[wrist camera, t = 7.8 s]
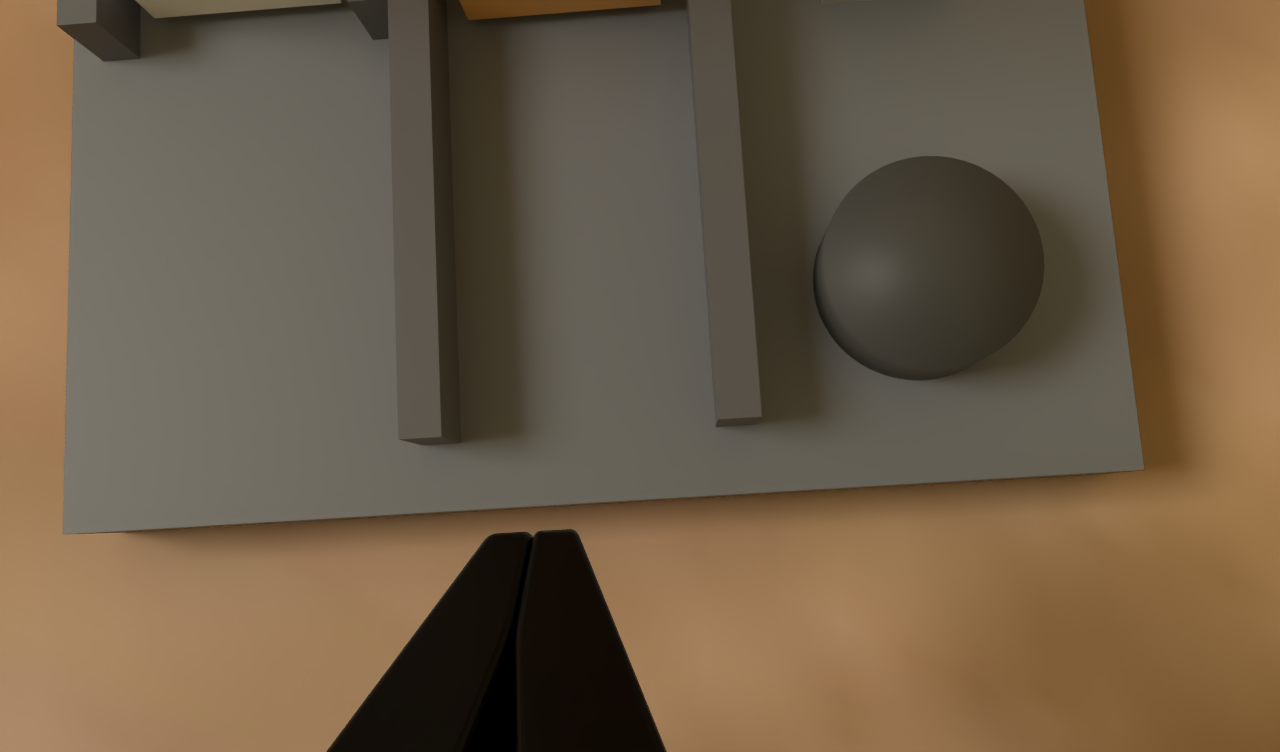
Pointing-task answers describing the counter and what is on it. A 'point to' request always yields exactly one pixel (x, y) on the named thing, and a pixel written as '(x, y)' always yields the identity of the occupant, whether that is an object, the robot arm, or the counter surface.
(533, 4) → the orange rectangular block
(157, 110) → the switch panel
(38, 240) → the counter surface
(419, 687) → the robot arm
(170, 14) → the beige rectangular block
